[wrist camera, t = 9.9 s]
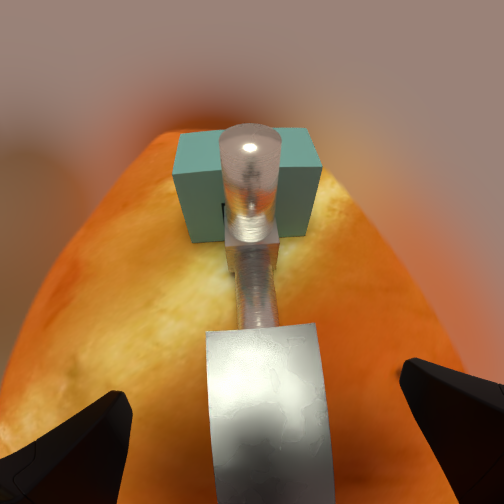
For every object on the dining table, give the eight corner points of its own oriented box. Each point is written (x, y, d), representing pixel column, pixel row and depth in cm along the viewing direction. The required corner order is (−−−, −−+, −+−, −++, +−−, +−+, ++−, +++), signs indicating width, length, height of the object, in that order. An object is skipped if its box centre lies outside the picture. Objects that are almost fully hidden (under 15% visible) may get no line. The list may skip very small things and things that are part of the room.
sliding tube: (295, 437, 14) (350, 471, 5) (239, 442, 14) (224, 488, 5) (266, 205, 25) (272, 99, 16) (226, 207, 24) (216, 101, 15)
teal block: (305, 235, 24) (322, 166, 17) (192, 242, 24) (172, 174, 17) (295, 195, 27) (306, 128, 20) (194, 201, 26) (180, 134, 19)
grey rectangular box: (315, 494, 12) (336, 518, 8) (229, 503, 12) (221, 531, 8) (299, 344, 19) (314, 322, 14) (216, 350, 19) (205, 331, 14)
